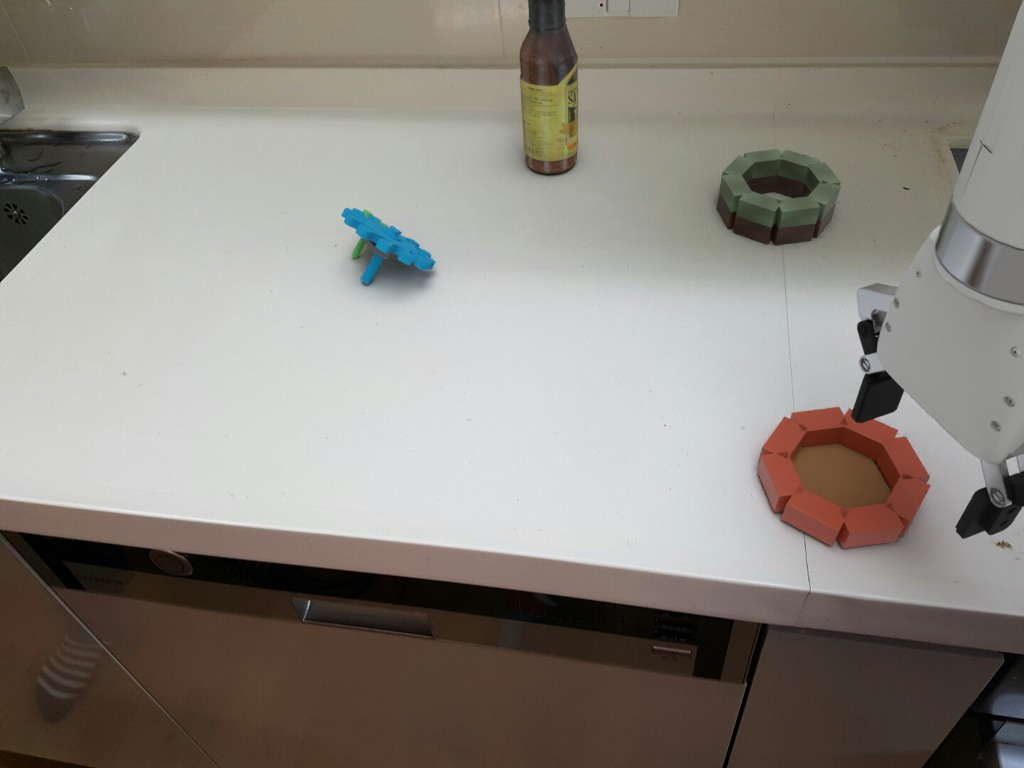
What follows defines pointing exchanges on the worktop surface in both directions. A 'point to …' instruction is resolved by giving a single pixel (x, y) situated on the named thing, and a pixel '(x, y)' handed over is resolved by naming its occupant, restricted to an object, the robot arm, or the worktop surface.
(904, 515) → the terracotta ring
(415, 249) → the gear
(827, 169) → the ring stack
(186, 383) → the worktop surface
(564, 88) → the sauce bottle
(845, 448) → the cork mat
